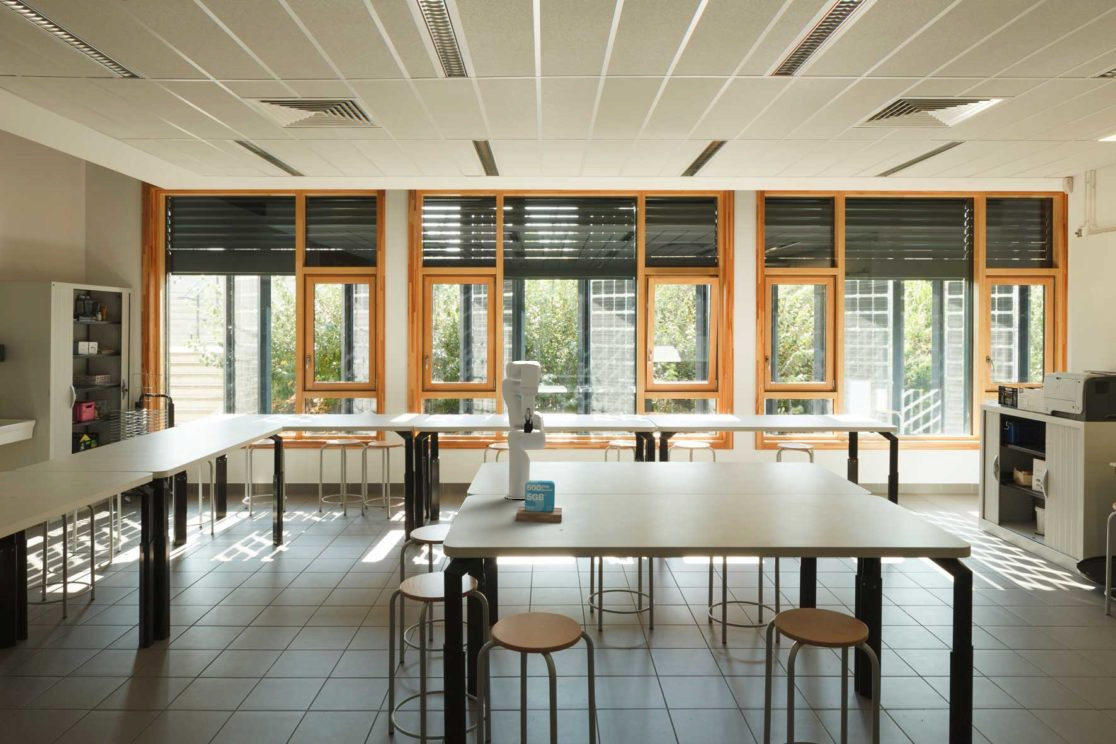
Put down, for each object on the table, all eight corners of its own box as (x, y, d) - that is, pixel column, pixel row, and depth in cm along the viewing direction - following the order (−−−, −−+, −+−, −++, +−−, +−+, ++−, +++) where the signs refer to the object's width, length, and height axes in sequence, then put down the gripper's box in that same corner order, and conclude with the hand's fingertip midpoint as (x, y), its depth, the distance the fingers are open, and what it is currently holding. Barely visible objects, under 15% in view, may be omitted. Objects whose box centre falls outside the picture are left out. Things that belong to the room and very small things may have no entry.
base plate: (518, 514, 316) (518, 506, 316) (561, 515, 316) (561, 507, 316) (516, 521, 302) (516, 514, 302) (561, 522, 302) (561, 515, 302)
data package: (524, 511, 307) (524, 481, 306) (525, 509, 311) (525, 480, 311) (554, 512, 307) (554, 482, 306) (554, 509, 311) (555, 480, 311)
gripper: (521, 390, 333) (520, 429, 334) (519, 392, 316) (518, 433, 316) (538, 390, 333) (537, 429, 334) (537, 393, 316) (536, 434, 316)
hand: (528, 431), depth 325 cm, fingers open, 9 cm apart
